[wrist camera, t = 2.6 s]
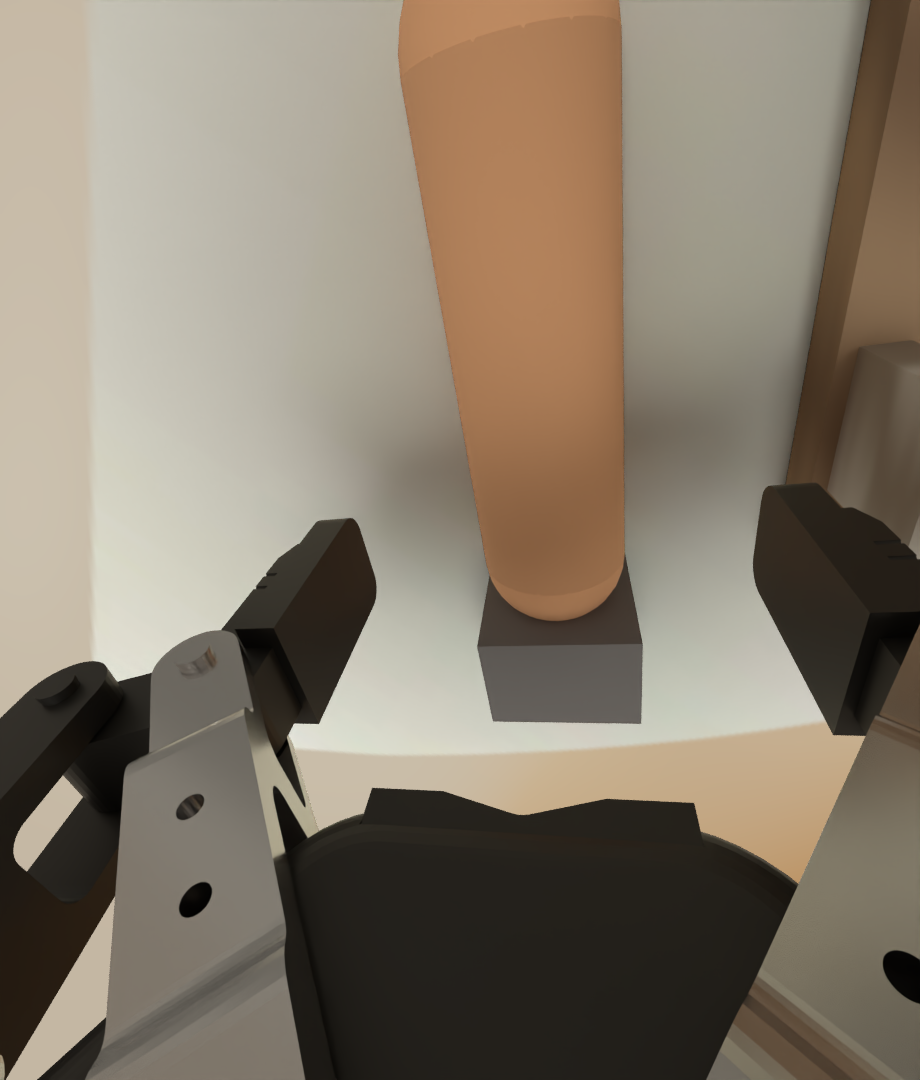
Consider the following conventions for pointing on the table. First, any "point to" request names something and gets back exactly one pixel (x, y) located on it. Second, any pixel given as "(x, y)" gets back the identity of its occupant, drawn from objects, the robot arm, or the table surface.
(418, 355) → the table surface
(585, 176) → the tan rounded rod
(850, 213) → the brown pegged board
